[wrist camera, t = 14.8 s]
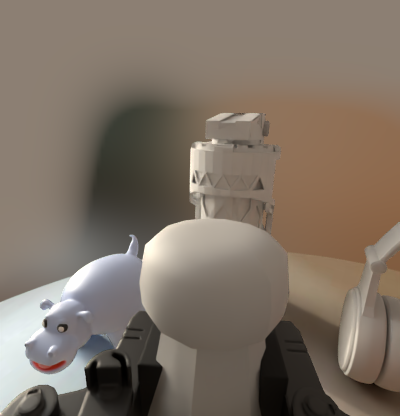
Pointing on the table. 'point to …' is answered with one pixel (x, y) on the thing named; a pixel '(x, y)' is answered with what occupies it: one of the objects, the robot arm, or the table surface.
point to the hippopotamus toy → (88, 310)
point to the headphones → (372, 322)
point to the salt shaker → (212, 313)
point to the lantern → (234, 170)
